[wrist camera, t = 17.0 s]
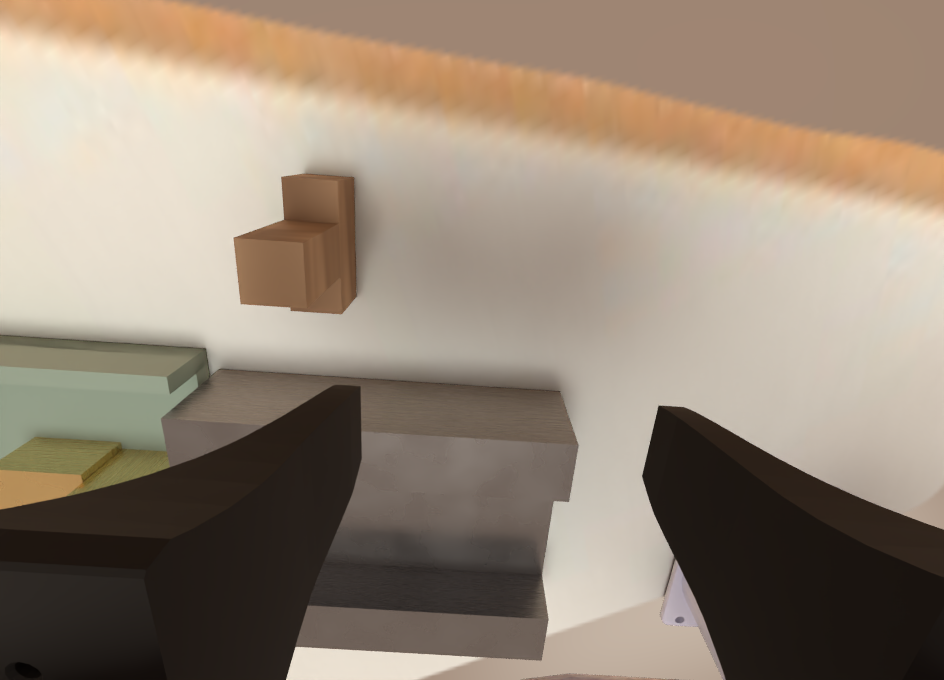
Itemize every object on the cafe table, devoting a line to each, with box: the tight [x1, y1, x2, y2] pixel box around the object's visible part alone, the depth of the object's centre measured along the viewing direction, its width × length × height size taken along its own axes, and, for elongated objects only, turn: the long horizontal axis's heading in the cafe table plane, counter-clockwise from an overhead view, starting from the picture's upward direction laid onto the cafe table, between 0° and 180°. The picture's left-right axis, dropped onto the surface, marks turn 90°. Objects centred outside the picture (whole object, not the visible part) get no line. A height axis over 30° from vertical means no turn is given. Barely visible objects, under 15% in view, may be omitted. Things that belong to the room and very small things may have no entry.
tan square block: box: [67, 449, 170, 496], centre depth 22 cm, size 4×4×2 cm
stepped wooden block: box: [234, 174, 356, 314], centre depth 17 cm, size 2×5×6 cm, turn 176°
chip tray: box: [0, 335, 209, 459], centre depth 23 cm, size 13×14×3 cm
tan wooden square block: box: [0, 437, 122, 509], centre depth 23 cm, size 4×4×2 cm
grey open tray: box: [161, 369, 578, 660], centre depth 23 cm, size 16×12×4 cm
